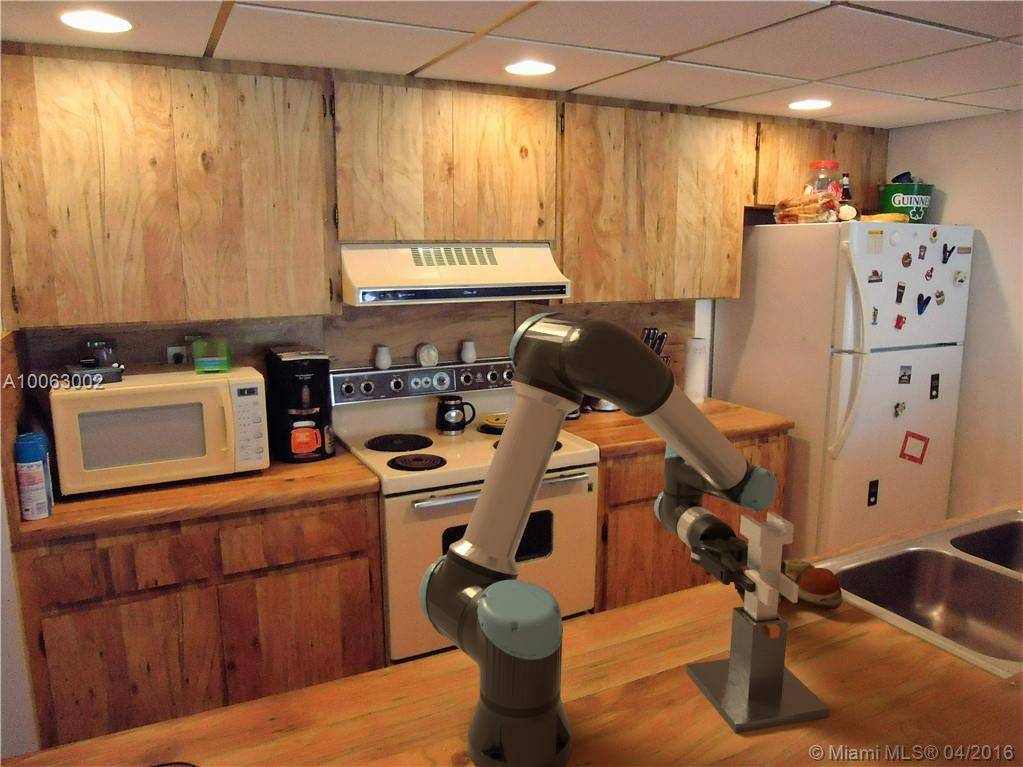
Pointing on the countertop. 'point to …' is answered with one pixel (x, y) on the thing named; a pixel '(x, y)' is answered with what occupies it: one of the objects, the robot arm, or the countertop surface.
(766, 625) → the stand
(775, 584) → the column
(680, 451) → the robot arm
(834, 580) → the beige sneaker
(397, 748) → the countertop surface
